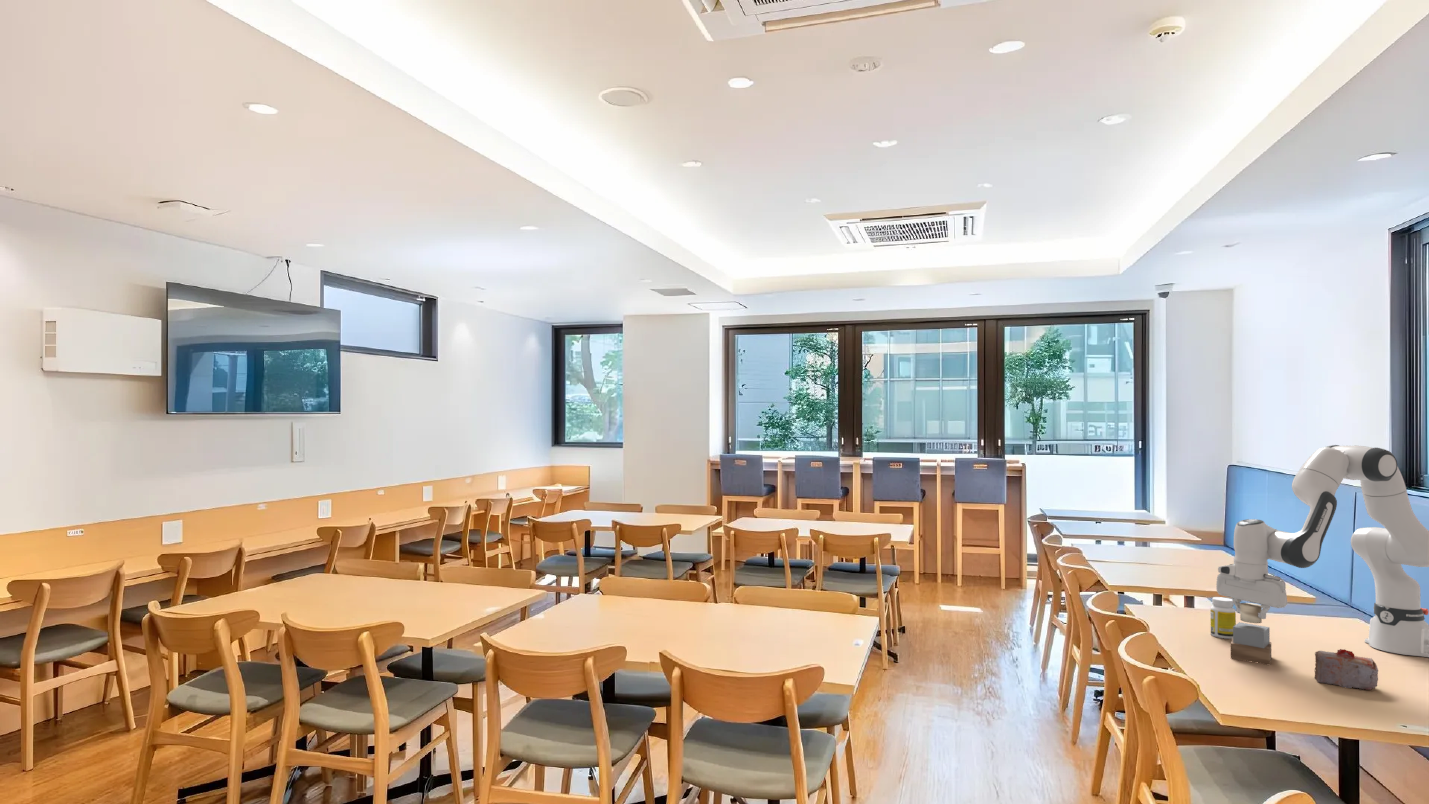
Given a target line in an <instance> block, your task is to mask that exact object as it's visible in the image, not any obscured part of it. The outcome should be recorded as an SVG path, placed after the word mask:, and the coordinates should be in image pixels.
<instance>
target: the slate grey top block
mask: <svg viewBox="0 0 1429 804" xmlns="http://www.w3.org/2000/svg"><path fill="white" fill-rule="evenodd" d="M1270 632H1271V631H1270V626H1265V625H1258V624H1254V623H1248V622H1242V621H1241V622H1240V621H1239V622H1237V623H1236V625H1235V626H1233V643H1237V644H1242V645H1248V646H1253V647H1259V648H1265V647H1266V646H1267V645H1268V644H1269V643H1270V642H1271V641H1270V640H1271V639H1270V636H1271V635H1270Z"/></svg>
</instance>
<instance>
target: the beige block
mask: <svg viewBox="0 0 1429 804" xmlns="http://www.w3.org/2000/svg"><path fill="white" fill-rule="evenodd" d="M1262 609H1263V608H1261V604H1258V603H1253V602H1240V613H1239V614H1240V615H1239V620H1240V621H1241V622H1243V623H1248V624H1261V623H1263V621H1262V620H1263V619H1260V618H1258V612H1261V611H1262Z"/></svg>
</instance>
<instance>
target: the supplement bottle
mask: <svg viewBox="0 0 1429 804" xmlns="http://www.w3.org/2000/svg"><path fill="white" fill-rule="evenodd" d="M1211 600H1212V601H1211V603H1212V605H1211V606H1210V608H1209V609H1210V612H1209V613H1210V614H1209V615H1210V635H1211V636H1213V637H1215V638H1219V639H1223V638H1224V640H1225V639H1227V640H1232V638H1233V626H1235V625H1236V624H1237V621H1236V620H1237V619H1236V617H1237V616H1236V614H1237V612H1236V609H1235V608H1234V606H1235V605H1234V603H1233V598H1230V597H1224V596H1222V597H1220V596H1213V597H1212V598H1211Z"/></svg>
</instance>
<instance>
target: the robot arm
mask: <svg viewBox="0 0 1429 804" xmlns="http://www.w3.org/2000/svg"><path fill="white" fill-rule="evenodd" d="M1399 468H1400V467H1399V466H1398V461H1397V458H1396V457H1395V455H1394V454H1393V452H1391V451H1390V450H1387V449H1385V448H1380V447H1372V446H1371V447H1370V446H1364V445H1338V444H1332V445H1327V446H1324V447H1320V448H1317V449H1316V450H1315V451H1314V452H1313V453H1312V454H1311V455H1310V456H1309V457H1308V458H1307V459H1306V461H1305V462H1304V463H1303V464H1302V465H1301V467H1300V468H1299V470H1298V471H1297V473H1296V474H1295V476H1294V478H1293V480H1292V484H1291V490H1292V492H1293V494H1294V495H1295V496H1296V498H1297V499H1298V500H1300V501H1301V503H1303V504H1305V505H1307V506H1308V507H1309V512H1308V514H1307V516H1306V519H1305V521H1304V524H1303V526H1302V528H1301V529H1300V530H1299V531H1296V532H1287V531H1284V530H1278V529H1277V528H1274V527H1271V525H1270V526H1269V525H1268V524H1266V522H1265V521H1264V520H1262V519H1255V518H1252V519H1251V518H1250V519H1249V518H1248V519H1243V520H1242V519H1241V520H1239V521H1238V522H1237V523H1236V524H1235V527H1234V531H1233V550H1234V558H1233V563H1229V564H1227V565H1220V566H1218V567H1217V571H1218V573H1219V574H1217V577H1216V584H1215V585H1216V592H1217V594H1218V595H1219V596H1222V597H1226V598H1230V599H1232V600H1233V603H1234V605H1233V606H1235V608H1236V609H1235V611H1236V614H1240V603H1242V601H1245V602H1248V603H1253V604H1258V605H1261V608H1262V611H1261V612H1258V618H1260V619H1262V620H1265V619H1267V613H1268V612H1269V610H1270V609H1271V607H1272V608H1276V609H1282V608H1285V607H1286V606H1288V596H1287V591H1286V588H1287V587H1286V586H1287V585H1286V581H1285V580H1284V579H1282V578H1281V577H1279V576H1274V575H1271V574H1269V562H1268V560H1270V561H1275V562H1277V563H1283V564H1288V565H1290V566H1293V567H1296V568H1299V569H1307V568H1309V567H1311V566H1313V565H1314V564H1316V562H1317V561H1318V560H1319V558H1320V557H1321V550H1322V545H1323V543H1324V540H1325V537H1326V535H1327V533H1328V530H1329V527H1330V525H1331V523H1332V521H1333V518H1334V515H1335V513H1336V510H1337V505H1338V500H1337V498H1336V492H1337V490H1338V489H1339V487H1340V485H1341V484H1342V483H1343V480H1344V479H1345V480H1350V481H1359V482H1360V487H1361V492H1362V493H1361V494H1362V498H1363V502H1364V505H1365V509H1366V513H1367V515H1368V517H1370V518H1371V519H1372V520H1373V521H1375V522H1377V523H1379V524H1380V525H1381V526H1383V527H1377V526H1372V527H1370V526H1369V527H1359V528H1357V529H1356V530H1355V531H1354V532H1353V533H1352V535H1351V537H1350V545H1351V546H1350V547H1351V548H1352V550H1353V552H1354V553H1355V554H1356V555H1358V556H1359V557H1360V558H1361V559H1362V560H1363V561H1364V562H1365V564H1366V565H1367V566H1368V569H1369V570H1370V572H1371V575H1372V577H1373V581H1374V591H1375V602H1374V604H1373V614H1374V616H1373V617H1371V618H1370V620H1369V629H1368V637H1367V638H1364V642H1365V643H1367V644H1368V646H1370V647H1372V648H1374V649H1377V650H1381V651H1383V652H1387V653H1392V654H1398V655H1404V656H1405V655H1406V656H1415V657H1423V658H1429V623H1428V622H1426V621H1425V619H1426V618H1425V616H1428V615H1429V609H1428V608H1423V607H1421V605H1422V604H1421V586H1420V584H1419V582H1418V581H1417V579H1415V578H1413V577H1411V575H1408V574H1407V572H1406V571H1405V570H1404V568H1403V566H1402V565H1405V566H1411V567H1417V568H1429V530H1428V529H1427V528H1426V527H1425V526H1424V525H1423V524H1422V522H1421V521H1420V520H1419V519H1418V517H1417V516H1416V515H1415V513H1414V510H1413V509H1412V506H1411V502H1410V499H1409V495H1408V494H1409V493H1408V491H1407V486H1406V483H1405V480H1404V478H1403V475H1402V473H1401V470H1400V469H1399Z"/></svg>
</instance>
